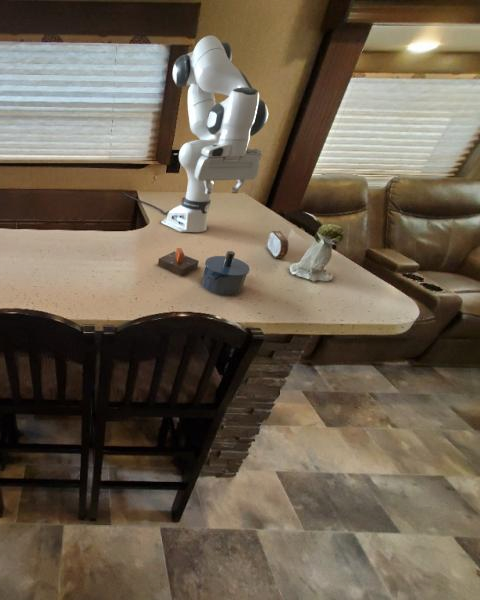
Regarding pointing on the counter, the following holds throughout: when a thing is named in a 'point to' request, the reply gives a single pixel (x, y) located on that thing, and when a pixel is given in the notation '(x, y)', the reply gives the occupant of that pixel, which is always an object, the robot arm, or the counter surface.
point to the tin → (277, 244)
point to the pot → (222, 283)
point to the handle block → (178, 264)
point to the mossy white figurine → (319, 254)
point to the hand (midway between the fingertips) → (221, 193)
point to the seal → (179, 255)
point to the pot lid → (227, 265)
